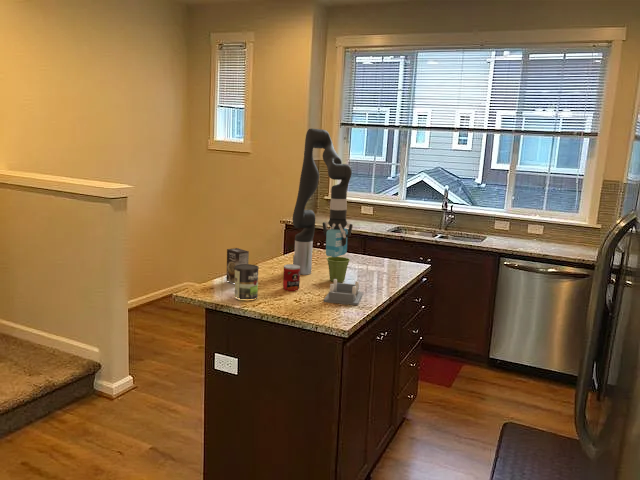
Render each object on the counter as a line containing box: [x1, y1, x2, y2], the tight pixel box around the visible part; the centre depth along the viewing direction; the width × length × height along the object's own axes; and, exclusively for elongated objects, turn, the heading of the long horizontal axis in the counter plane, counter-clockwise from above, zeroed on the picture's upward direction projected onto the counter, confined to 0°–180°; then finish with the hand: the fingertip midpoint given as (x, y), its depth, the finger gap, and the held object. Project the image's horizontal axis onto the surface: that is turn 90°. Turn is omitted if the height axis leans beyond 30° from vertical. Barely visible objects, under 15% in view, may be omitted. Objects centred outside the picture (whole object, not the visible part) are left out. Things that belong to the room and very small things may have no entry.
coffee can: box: [234, 263, 259, 299], centre depth 241 cm, size 10×10×14 cm
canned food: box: [282, 263, 301, 292], centre depth 259 cm, size 8×8×11 cm
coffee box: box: [225, 247, 250, 284], centre depth 264 cm, size 9×6×16 cm
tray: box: [323, 279, 364, 306], centre depth 249 cm, size 15×18×7 cm
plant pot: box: [326, 256, 351, 283], centre depth 278 cm, size 12×12×11 cm
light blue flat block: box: [325, 227, 349, 257], centre depth 252 cm, size 12×4×12 cm, turn 149°
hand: (336, 245), depth 252 cm, fingers closed on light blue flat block, 5 cm apart
